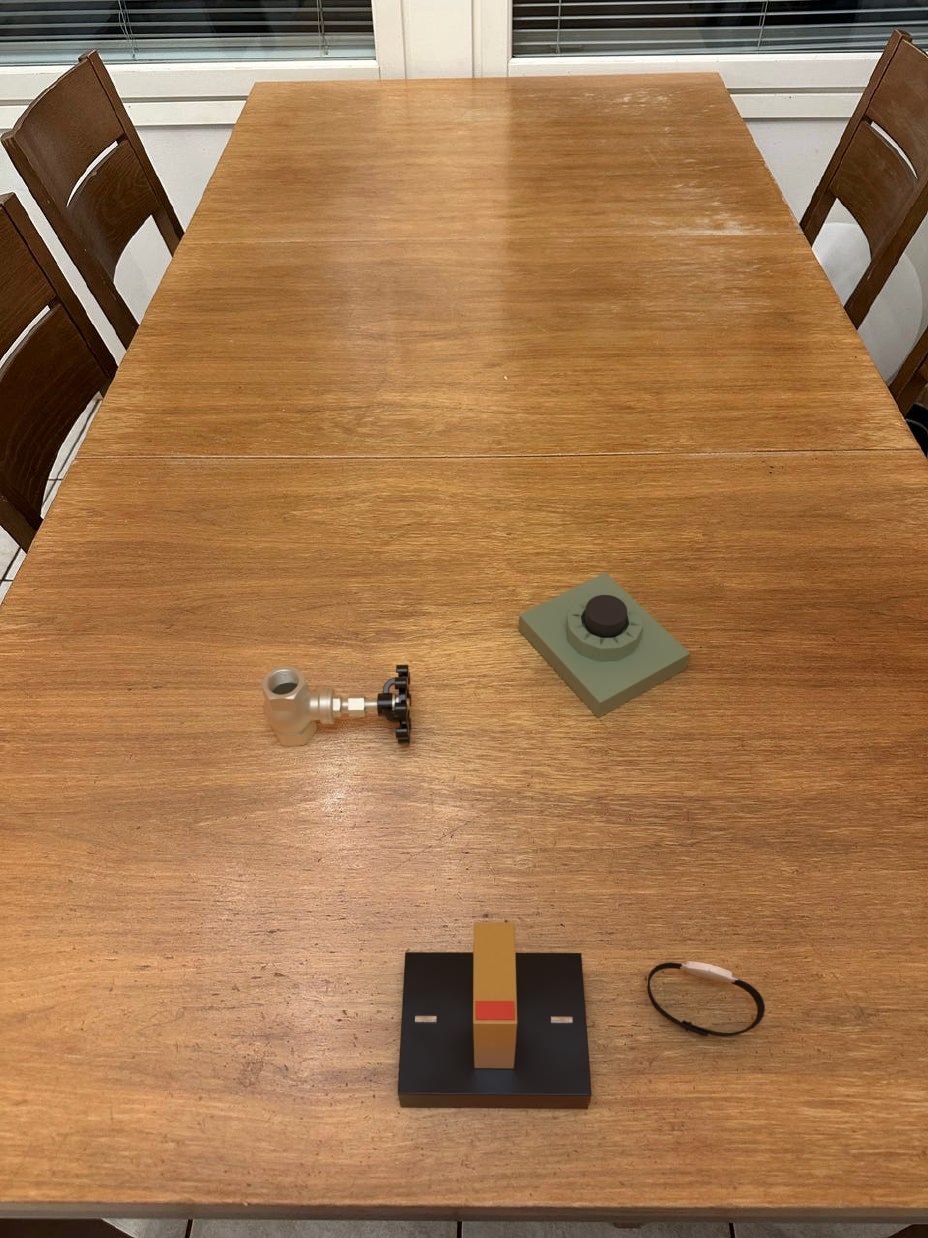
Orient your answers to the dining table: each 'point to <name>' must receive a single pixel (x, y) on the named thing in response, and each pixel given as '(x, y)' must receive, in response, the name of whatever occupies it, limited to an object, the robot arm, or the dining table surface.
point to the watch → (711, 974)
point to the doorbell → (602, 647)
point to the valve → (328, 705)
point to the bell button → (605, 616)
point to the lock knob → (494, 995)
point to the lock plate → (445, 1043)
